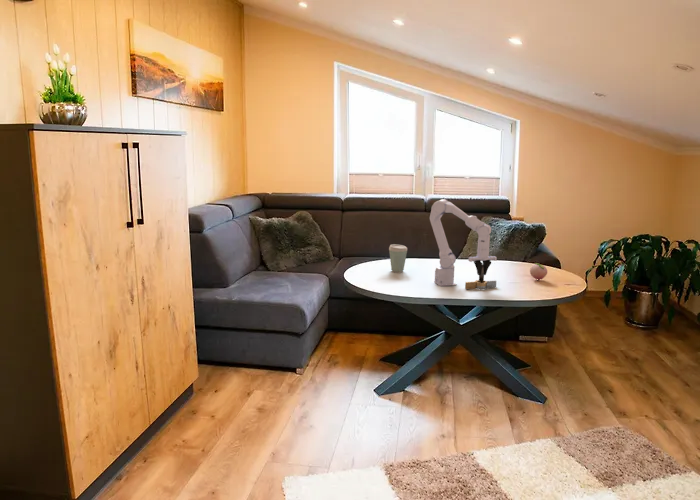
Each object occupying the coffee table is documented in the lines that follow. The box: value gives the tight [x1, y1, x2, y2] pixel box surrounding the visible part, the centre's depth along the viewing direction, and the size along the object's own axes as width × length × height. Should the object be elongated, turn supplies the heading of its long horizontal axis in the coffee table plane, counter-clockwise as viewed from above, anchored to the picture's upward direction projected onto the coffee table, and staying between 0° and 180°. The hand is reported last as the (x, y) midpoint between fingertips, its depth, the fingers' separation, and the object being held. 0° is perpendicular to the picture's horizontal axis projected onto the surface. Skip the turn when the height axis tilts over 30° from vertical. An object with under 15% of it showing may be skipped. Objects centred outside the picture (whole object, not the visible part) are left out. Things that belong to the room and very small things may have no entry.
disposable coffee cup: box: [388, 243, 408, 274], centre depth 313 cm, size 11×11×15 cm
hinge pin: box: [478, 263, 485, 281], centre depth 281 cm, size 2×2×8 cm
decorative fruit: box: [529, 262, 548, 281], centre depth 299 cm, size 9×8×10 cm
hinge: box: [464, 279, 497, 291], centre depth 283 cm, size 17×6×4 cm, turn 104°
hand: (481, 274), depth 282 cm, fingers closed on hinge pin, 2 cm apart
